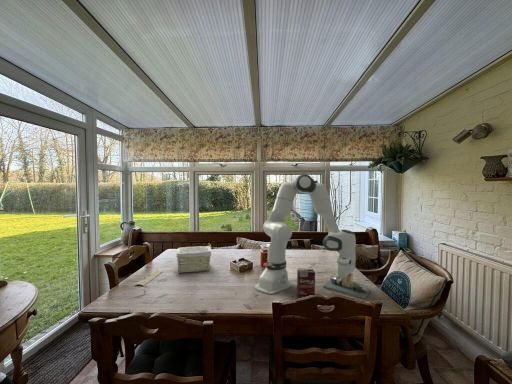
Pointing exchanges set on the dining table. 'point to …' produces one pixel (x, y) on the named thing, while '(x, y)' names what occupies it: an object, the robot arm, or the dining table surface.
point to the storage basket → (193, 259)
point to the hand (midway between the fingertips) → (347, 281)
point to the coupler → (350, 281)
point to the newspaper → (149, 278)
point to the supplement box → (305, 282)
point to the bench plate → (346, 290)
